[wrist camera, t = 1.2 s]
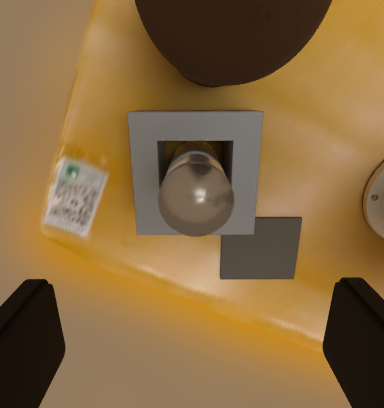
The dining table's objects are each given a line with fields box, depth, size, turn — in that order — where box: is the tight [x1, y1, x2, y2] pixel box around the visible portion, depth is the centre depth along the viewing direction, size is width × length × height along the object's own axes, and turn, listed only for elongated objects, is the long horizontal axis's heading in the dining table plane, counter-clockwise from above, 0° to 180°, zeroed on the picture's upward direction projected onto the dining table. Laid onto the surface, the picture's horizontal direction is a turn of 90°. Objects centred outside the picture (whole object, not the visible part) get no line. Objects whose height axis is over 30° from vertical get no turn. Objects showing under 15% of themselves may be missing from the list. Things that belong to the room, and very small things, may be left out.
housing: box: [127, 110, 263, 235], centre depth 30 cm, size 12×12×7 cm
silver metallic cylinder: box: [158, 141, 234, 236], centre depth 27 cm, size 6×6×14 cm
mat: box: [220, 217, 302, 279], centre depth 37 cm, size 10×9×1 cm
